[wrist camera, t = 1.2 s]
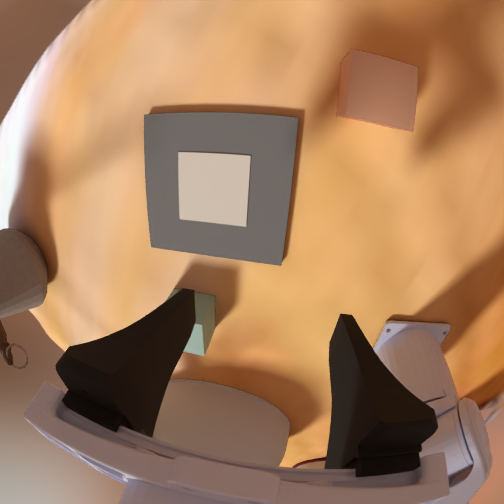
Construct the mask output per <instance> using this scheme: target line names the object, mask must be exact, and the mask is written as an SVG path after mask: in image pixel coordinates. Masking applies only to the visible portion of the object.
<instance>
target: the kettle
mask: <svg viewBox="0 0 504 504" xmlns="http://www.w3.org/2000/svg"><path fill="white" fill-rule="evenodd" d="M289 431H290V422H289V420H288V418H287V417H286V415H285V414H284V413H283V412H282V411H281V410H279V409H278V408H277V407H275V406H274V405H272V404H271V403H269V402H267V401H265V400H263V399H261V398H259V397H257V396H254V395H252V394H250V393H247V392H244V391H241V390H238V389H235V388H232V387H228V386H225V385H221V384H216V383H212V382H206V381H200V380H191V379H172V380H169V383H168V386H167V389H166V392H165V395H164V398H163V401H162V404H161V407H160V411H159V414H158V417H157V421H156V425H155V429H154V433H153V437H152V438H154V439H157V440H160V441H163V442H166V443H169V444H172V445H175V446H179V447H182V448H185V449H189V450H193V451H196V452H200V453H204V454H208V455H213V456H217V457H222V458H226V459H231V460H237V461H242V462H248V463H255V464H262V465H270V466H279V465H280V463H281V461H282V459H283V457H284V454H285V451H286V447H287V442H288V436H289Z"/></svg>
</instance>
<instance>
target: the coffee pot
mask: <svg viewBox="0 0 504 504" xmlns="http://www.w3.org/2000/svg"><path fill="white" fill-rule="evenodd" d="M47 278H48V272H47V266H46V263H45V260H44V258H43V255H42V253H41V251H40V250H39V248H38V246H37V245H36V244H35V242H34V241H33V240H32V239H31V238H30V237H29V236H27V235H26V234H22V233H21V232H19V231H17V230H15V229H10V228H8V229H2V230H0V318H2V317H5V316H9V315H12V314H15V313H18V312H22V311H25V310H28V309H32V308H35V307H38V306H40V305H41V304H42V303H43V302H44V299H45V297H46V294H47V281H48V280H47ZM11 346H18V347H20V348H21V349H22V350H23V351H25V350H24V349H23V348H22V347H21V346H20V345H18V344H15V343H14V344H9V343H8V342H7V337H6V332H5V330H4V328H3V326H2V323H1V321H0V352H1V353H2V354H3V357H4V359H5V361H6V362H7V364H8V365H13V366H14V367H15V368H18V369H22V368H25V367H26V365H27V364H28V357H26V358H27V362H26V363H25V365H24V366H21V367H18V366H15V365H14V364H13V357H12V354H11ZM25 354H26V351H25ZM26 356H27V354H26Z"/></svg>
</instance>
